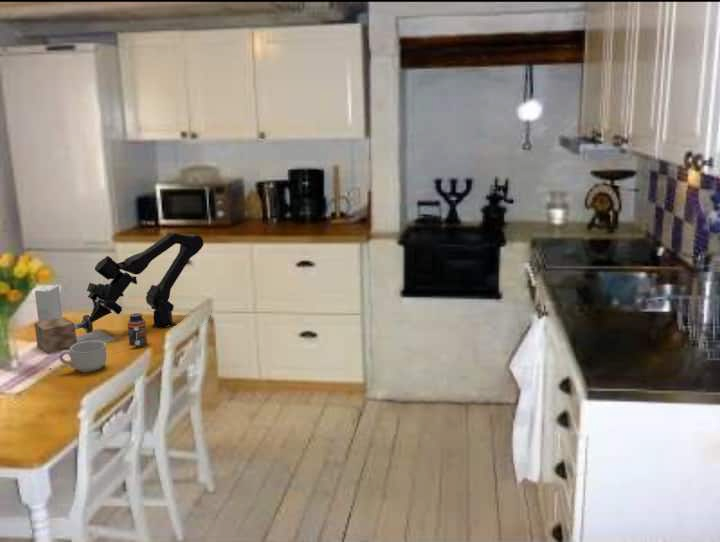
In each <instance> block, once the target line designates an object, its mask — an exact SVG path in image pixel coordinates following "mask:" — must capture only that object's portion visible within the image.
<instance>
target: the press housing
mask: <svg viewBox="0 0 720 542" xmlns="http://www.w3.org/2000/svg"><path fill="white" fill-rule="evenodd" d="M75 324H76V323H75V322H72V321H71V320H69V319H67V318H66V317H64V316H63V318H58V319H53V320H48V321H43V322H39V321H38V322H34V330H35V338H36V345H37V348H39V350H40V349H42V350H41V351H43V352H44V353H45V352H46V353H45V354H47V355H48V353H52V352H57V351H61V350H66V349H70V347H71V346H72V345H74V344H76V343H77V340H76V336H77V333H76V329H75Z"/></svg>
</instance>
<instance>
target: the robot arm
mask: <svg viewBox="0 0 720 542" xmlns="http://www.w3.org/2000/svg"><path fill="white" fill-rule="evenodd" d="M176 244H178V245H179V252H178V254H177V255H176V256H175V258H174V260H173V261H172V263H171V265H170V266H169V267H168V269H167V271H166V273H165V274H164V276H163V277H162V279H161V280H160V282H159V283H158V284H157V285H154V284H151V286H150V287H149V290H148V291H147V292H146V296H145V301H146V303H147V304H148V306H150V308H151V310H153V317H152V318H153V324H151V327H154V326H157V327H156V328H160V327H166V326H168V325H171V326H173V325H172V324H174V325H176V324H177V323H176V322H174V321H173V313H172V312H173V310H174V307H175V305H174V304H173V303H171V302H170V301H169V300H170V296H171V289H172V288H173V287H174V284H175V283H176V281H177V280H178V278H179V277H180V275H181V274H182V273H183V270H184V269H185V267H186V266H187V264H188V263H189V261H190V259H192V258H193V257H194V256H195V255H196V254H198V253H199V252H200V251H201V250H202V248H203V246H204V239H203V237H201V236H200V235H196V234H191V233H188V234H186V235H185V234H184V235H183V234H179V233H177V232H174V231H173V232H168V233H167V234H166V235H165V236H163V237H162V238H161V239H159V240H158V241H156V242H155V243H154V244H152V245H151V246H149V247H148V248H146V249H145V250H143V251H142V252H139V253H136V254H133V255H131V256H129V257H127V258H125V259H124V261H121V262H116V261H115V260H113V258H112V257H110V256H108V255H107V256H105V257H104V258H102V259H101V260H100V261H98V262H97V264H96V265H95V267H94V271H95V272H97V274H99V275H100V276H102V277H103V278H104V279H106V280H111V281H110V282H109V283H106V284H102V283H98V284H96V283H92V282H89V283H88V286H87V290H86V292H88V293H89V294H88V295H87V298H89V299H90V300H92V305H93V308H92V311H91V314H90V315H89V316H90V318H91V321H92V323H95V322H96V321H98V320H100V319H102V318H103V317H106V316H108V315H109V314H112V311H113V312H114V313H115V314H116V315H120V314H121V313H122V312H123V307H122V306H121V305H120V304H118V303H117V301H118V300H119V299H120V297H123V296H124V295H125V294H124V292H125V291H126V289H127V288H128V287H129V286H130V284H131V283H132V284H134V285H138V281H137V276H135V275H141V273H142V272H144V271H146V269H147V268H148V267H149V265H150V263H151V262H152V261H153V260H155V259H156V258H157V257H159V256H160V255H162V254H163V253H165V252H167V251H168V250H169V249H170V248H171V247H173V246H175V245H176ZM122 271H124V272H122ZM129 273H130V274H129ZM131 274H132V275H133V276H132V275H131ZM168 327H169V326H168ZM166 328H167V327H166Z"/></svg>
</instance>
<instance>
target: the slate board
mask: <svg viewBox="0 0 720 542" xmlns="http://www.w3.org/2000/svg"><path fill="white" fill-rule="evenodd" d="M76 340H77V343H79V342H83V341H91V340H96V341H102V342H104V343H108V342H112V341H117V339H116V338H114V337H112V336H111V335H109V334H107V333H106V332H104V331H102V330H98V331H95V332H94V331H93V332H90V333H85V334H81V335H76ZM35 345H36V346H37V344H35ZM37 347H38V346H37ZM66 350H68V351H70V349H66ZM41 351H43V350H42V349H41ZM62 351H64V350H61V351H57V352H52V353H48V354H47V353H46V352H44V353H45V354H47V355H48V356H51V355H55V354H60V353H61V352H62Z"/></svg>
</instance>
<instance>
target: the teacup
mask: <svg viewBox="0 0 720 542" xmlns="http://www.w3.org/2000/svg"><path fill="white" fill-rule="evenodd" d="M106 346H107V342H102V341H96V340H91V341H83V342H79V343H76V344H74V345H72V346H71V347H70V351H68V350H64V351H62V352H61V353H59V355H58V359H59V361H60V362H61V363H62V364H64V365H68V366H70V367H71V368H74V369H75V370H77V371H78V372H80V371H81V372H82V373H92V372H91V371H93V372H96V371H95V370H97V371H98V369H99V370H101V368H102V367H104V365H105V364H106V362H107V347H106ZM65 354H66V355H68V356H69V358H70V361H68V360H65V359H64V358H63V357H64V355H65Z"/></svg>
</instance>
